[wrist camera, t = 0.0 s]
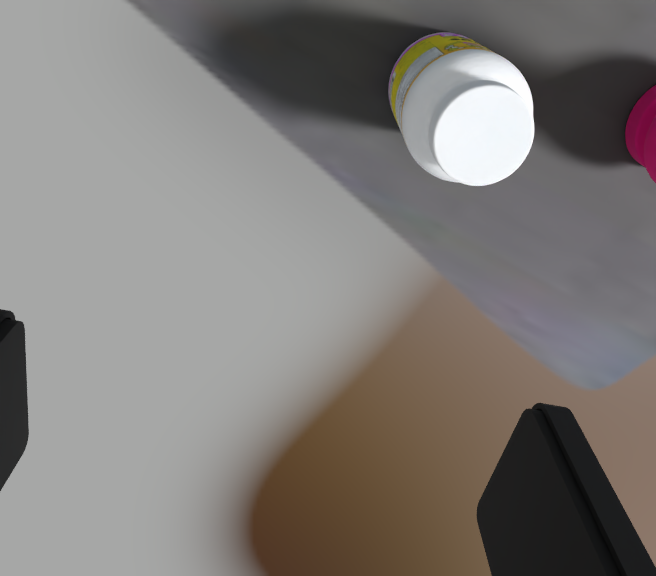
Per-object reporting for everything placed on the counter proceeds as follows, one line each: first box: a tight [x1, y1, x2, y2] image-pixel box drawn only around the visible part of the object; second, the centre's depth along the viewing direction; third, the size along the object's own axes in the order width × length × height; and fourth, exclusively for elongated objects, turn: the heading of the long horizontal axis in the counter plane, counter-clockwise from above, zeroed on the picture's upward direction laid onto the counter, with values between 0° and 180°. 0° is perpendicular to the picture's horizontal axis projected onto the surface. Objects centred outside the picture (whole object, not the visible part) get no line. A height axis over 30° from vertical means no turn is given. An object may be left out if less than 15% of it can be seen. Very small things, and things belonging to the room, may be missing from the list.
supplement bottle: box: [388, 32, 534, 186], centre depth 33 cm, size 7×7×13 cm
